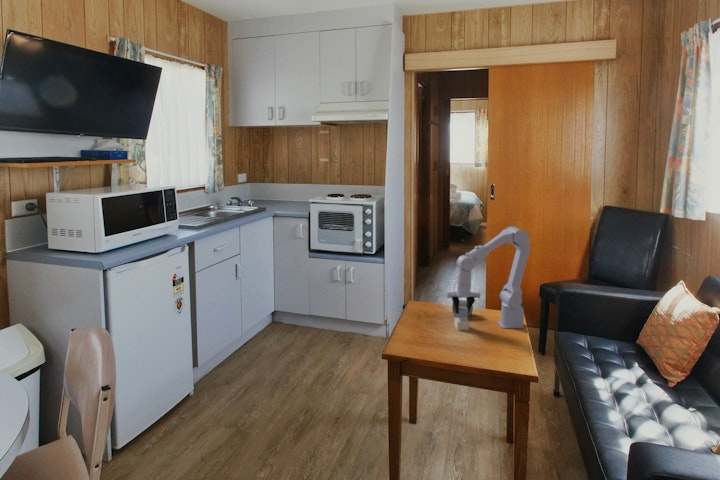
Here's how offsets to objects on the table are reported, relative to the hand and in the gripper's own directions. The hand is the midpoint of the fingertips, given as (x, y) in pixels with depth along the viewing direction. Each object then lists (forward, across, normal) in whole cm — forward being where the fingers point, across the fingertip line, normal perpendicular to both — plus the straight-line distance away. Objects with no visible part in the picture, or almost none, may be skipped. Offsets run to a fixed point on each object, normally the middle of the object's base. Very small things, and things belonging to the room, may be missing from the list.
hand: (462, 313), depth 222 cm
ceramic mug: (+7, -4, -17) cm, 19 cm away
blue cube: (+2, 0, 0) cm, 2 cm away
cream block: (+7, 0, 0) cm, 7 cm away
